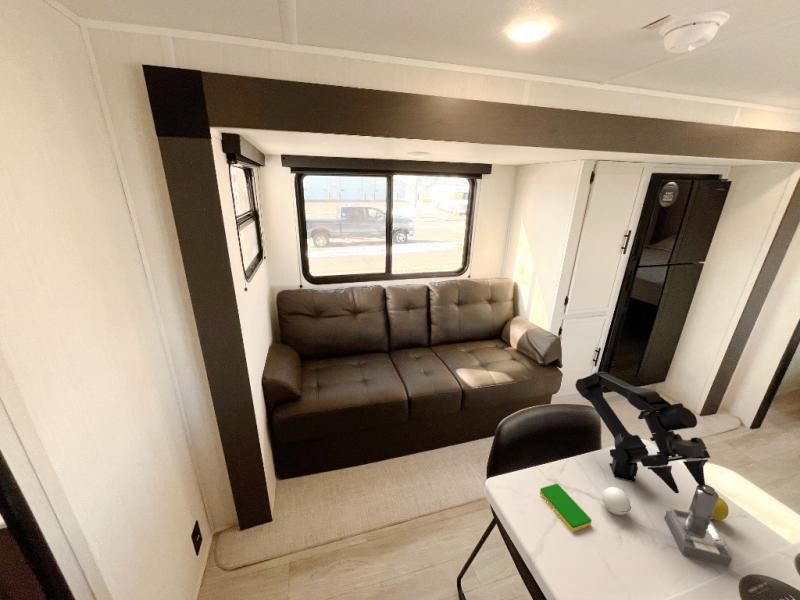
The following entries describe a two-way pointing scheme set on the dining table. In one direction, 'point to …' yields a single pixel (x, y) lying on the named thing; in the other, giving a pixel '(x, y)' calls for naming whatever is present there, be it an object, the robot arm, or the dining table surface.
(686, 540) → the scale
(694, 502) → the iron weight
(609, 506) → the white egg
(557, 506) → the dish sponge
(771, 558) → the dining table surface
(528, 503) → the dining table surface
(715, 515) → the lemon
